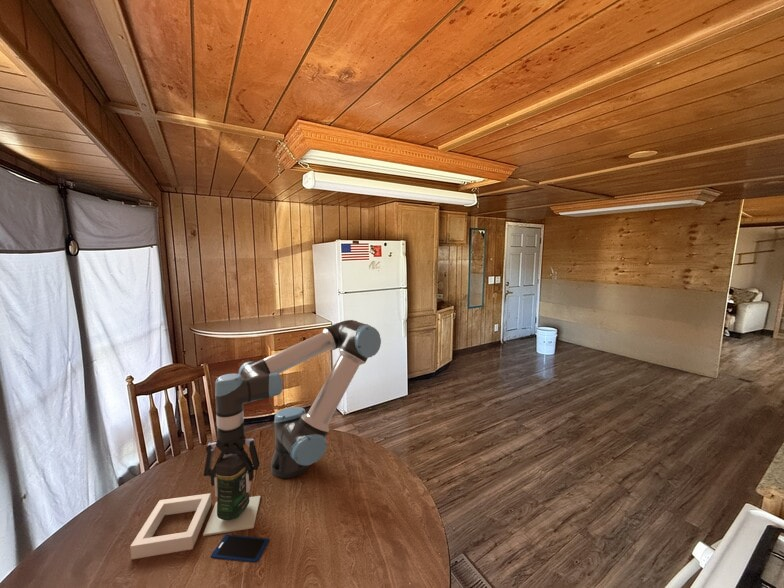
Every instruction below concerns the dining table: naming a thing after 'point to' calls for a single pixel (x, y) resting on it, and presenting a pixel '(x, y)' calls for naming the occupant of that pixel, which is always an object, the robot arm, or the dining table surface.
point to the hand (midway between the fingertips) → (233, 491)
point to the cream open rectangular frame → (172, 542)
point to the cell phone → (240, 548)
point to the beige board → (240, 523)
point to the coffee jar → (231, 487)
